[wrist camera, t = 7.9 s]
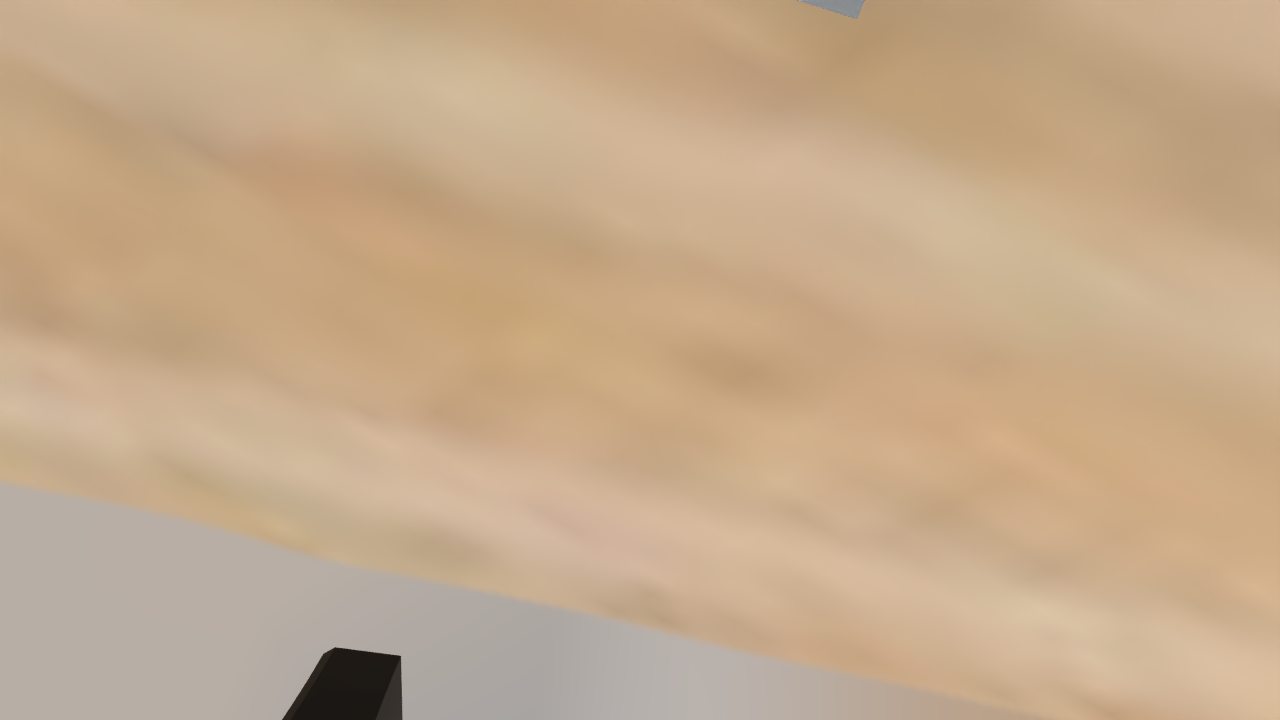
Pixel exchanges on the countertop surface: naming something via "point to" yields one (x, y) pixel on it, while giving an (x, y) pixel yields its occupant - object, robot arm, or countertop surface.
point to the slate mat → (839, 6)
